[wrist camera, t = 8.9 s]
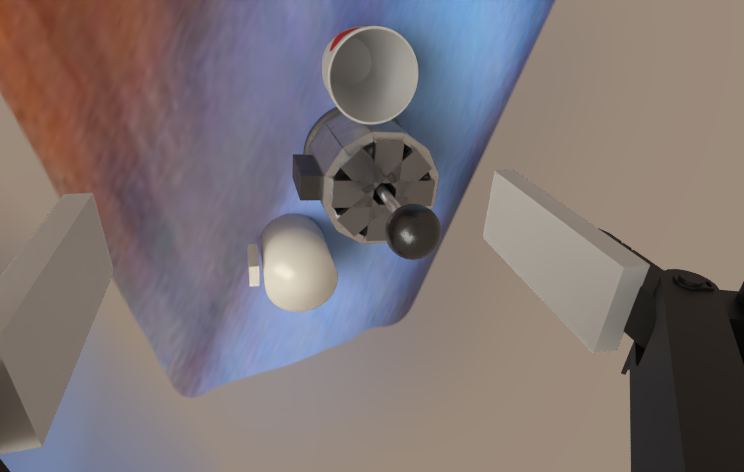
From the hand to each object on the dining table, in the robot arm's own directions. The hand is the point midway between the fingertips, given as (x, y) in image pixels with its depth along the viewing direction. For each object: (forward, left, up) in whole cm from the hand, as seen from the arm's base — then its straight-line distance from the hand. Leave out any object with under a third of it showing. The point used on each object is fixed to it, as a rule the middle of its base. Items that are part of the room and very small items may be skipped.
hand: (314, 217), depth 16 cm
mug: (+20, +4, -36) cm, 42 cm away
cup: (-1, +9, -36) cm, 37 cm away
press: (+9, +11, -36) cm, 39 cm away
